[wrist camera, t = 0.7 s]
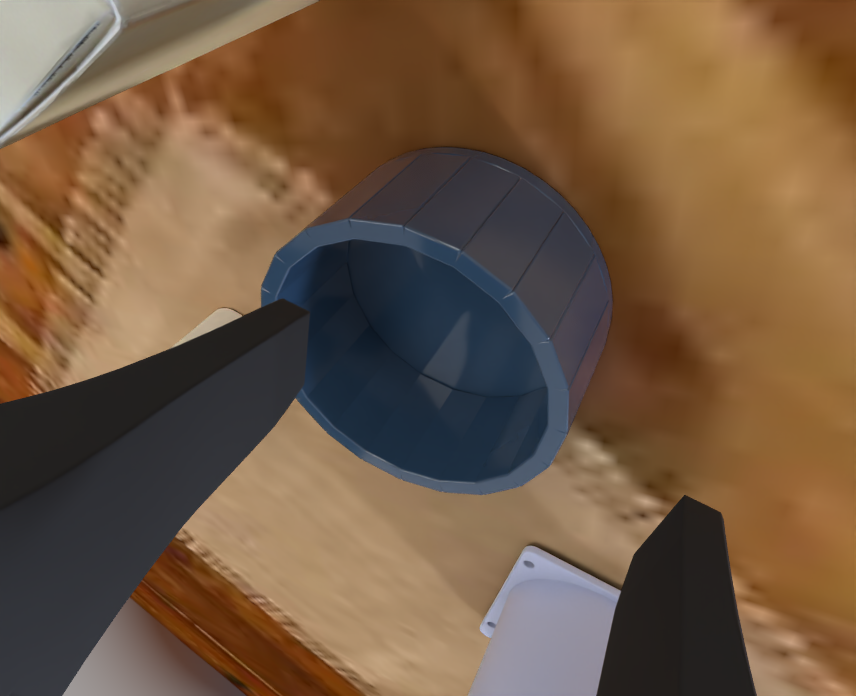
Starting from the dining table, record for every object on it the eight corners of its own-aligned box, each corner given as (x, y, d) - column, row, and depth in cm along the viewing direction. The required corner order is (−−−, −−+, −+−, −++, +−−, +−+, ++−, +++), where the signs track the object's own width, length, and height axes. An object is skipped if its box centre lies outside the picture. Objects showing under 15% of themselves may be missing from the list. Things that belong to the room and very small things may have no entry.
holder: (556, 436, 25) (511, 538, 22) (333, 329, 27) (260, 407, 24) (666, 222, 18) (627, 322, 15) (357, 99, 20) (259, 162, 17)
